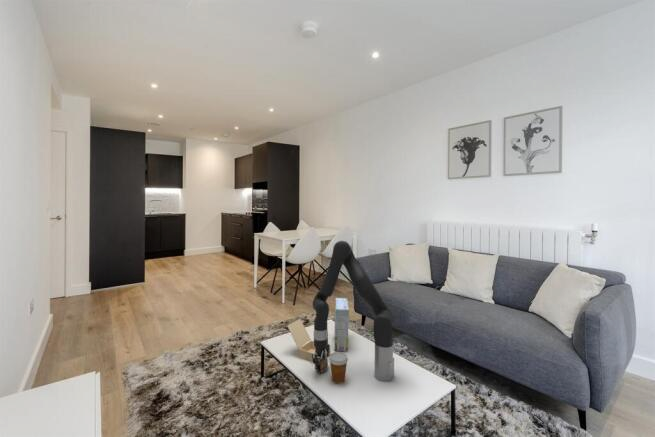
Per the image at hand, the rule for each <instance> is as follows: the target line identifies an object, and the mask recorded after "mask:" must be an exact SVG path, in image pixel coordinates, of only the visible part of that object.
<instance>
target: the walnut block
mask: <svg viewBox="0 0 655 437" xmlns="http://www.w3.org/2000/svg"><path fill="white" fill-rule="evenodd" d="M319 358H320V357H319ZM318 362H319V359H318ZM328 362H329V358H328V357H327V358H324V357H322V359H321V362H320V371H319V372H321V373H324V372H325V371H327V369H328V368H329V363H328ZM314 370H315V371H317V370H316V364H314Z"/></svg>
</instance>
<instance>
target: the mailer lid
mask: <svg viewBox="0 0 655 437" xmlns="http://www.w3.org/2000/svg"><path fill="white" fill-rule="evenodd" d="M286 327H287V328H288V330H289V332H290V334H291V337H292V339H293V341H294V342H295V344H296V346H297V349H299V348H301V347H302V346H304V345H305V344H307V343H308V342H310V341H312V339H311V337H310V335H309V333H308V331H307V328H306V327H305V325H304V323H303V321H302V319H301V318H299V319H296V320H295V321H293V322H291V323H290V324H288V325H286Z"/></svg>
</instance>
